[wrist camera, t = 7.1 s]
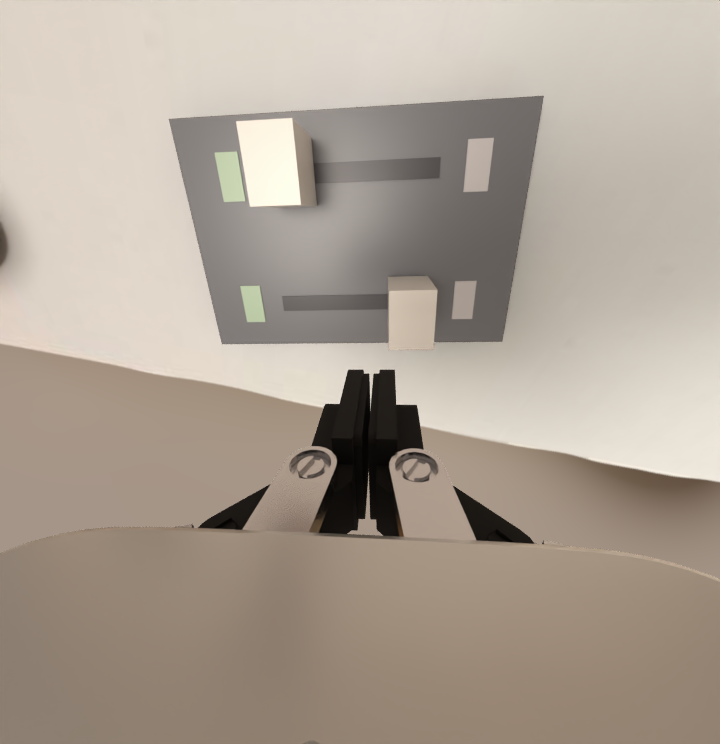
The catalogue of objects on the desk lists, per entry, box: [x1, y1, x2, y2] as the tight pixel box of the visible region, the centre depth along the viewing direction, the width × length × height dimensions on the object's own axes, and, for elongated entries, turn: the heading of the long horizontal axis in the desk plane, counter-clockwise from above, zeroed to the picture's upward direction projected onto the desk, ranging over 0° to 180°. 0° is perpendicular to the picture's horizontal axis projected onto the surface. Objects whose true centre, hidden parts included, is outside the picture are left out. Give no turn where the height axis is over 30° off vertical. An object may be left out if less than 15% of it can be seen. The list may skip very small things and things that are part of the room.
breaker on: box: [236, 118, 317, 208], centre depth 20 cm, size 3×4×5 cm
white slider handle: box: [388, 276, 438, 350], centre depth 23 cm, size 3×4×5 cm
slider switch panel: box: [169, 96, 544, 344], centre depth 25 cm, size 24×16×3 cm, turn 92°
